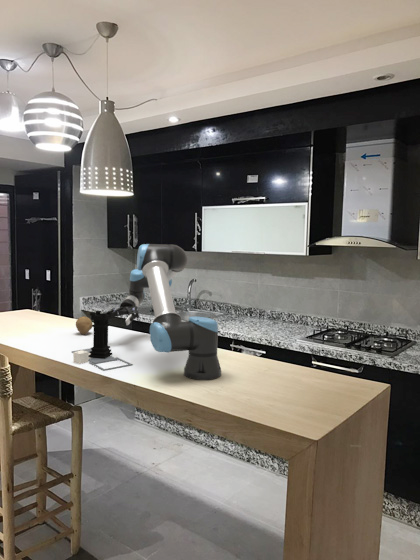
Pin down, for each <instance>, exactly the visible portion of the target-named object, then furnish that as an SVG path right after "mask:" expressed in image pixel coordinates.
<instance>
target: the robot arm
mask: <svg viewBox="0 0 420 560" xmlns="http://www.w3.org/2000/svg"><path fill="white" fill-rule="evenodd" d="M136 256H137V258H136V269H132V270H131V272H130V276H129V288H128V289H129V290H128V295H127V296H126V297H125V298H124V300H123V301H122V302H121V303H120V305H119V307H118V308H115V307H113V308H111V309H110V310H109V311H110V312H112V314H111V319H113V318H116V317H120V316H125V315H126V316H127V315H128V316H127V318H126V319H125V324H126V326H129V325H130V324H131V323H132V322H133V321H134V320H135V319H139V318H140V314H139V305H140V304H141V303H143V301H144V299H145V297H146V293H145V291H144V289H149V293H150V300H151V304H152V308H153V312H154V313H153V314H154V319H153V320H152V322H151V324H150V326H149V338H150V342H151V346H152V347H153V349H154V350H155V351H156V352H158V353H172V352H184V351H185V352H186V351H188V357H187V359H186V363H185V366H184V367H183V375H184V377H187V378H188V379H193V380H198V381H201V380H202V381H207V380H214V379H218V378H220V377H221V375H222V368H221V365H220V364H221V363H220V361H219V358H218V343H219V342H218V339H219V338H218V337H219V335H218V334H219V329H218V324H219V323H218V322H217V320H216V319H213V318H210V317H203V316H196V315H195V316H189V318H188V320H184V321H183V320H182V317H181V315H180V314H179V313H177V312H176V308H175V303H174V300H173V296H172V295H173V294H172V291H171V286H172V283H173V278H174V277H175V276H176V275H177V274H178V273H180V272H182V271H183V270H184V269H185V268H186V267H187V265H188V261H189V259H188V258H189V257H188V255H187V252H186V251H185V249H183V248H182V247H180V246H178V245H177V244H162V243H161V244H158V243H157V244H156V243H146V244H145V243H143V244H141V245H140V246H139V247H138V250H137V255H136ZM107 312H108V311H106V312H105V313H107Z"/></svg>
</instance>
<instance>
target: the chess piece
mask: <svg viewBox="0 0 420 560" xmlns="http://www.w3.org/2000/svg"><path fill="white" fill-rule="evenodd" d="M106 312H107V313H106ZM106 312H102V313H101V310H96V311H95V312H90V313H89V316H90V320H91V321H93V325H92V328H93V337H92V339H93V344H92V345H93V347H90V348H91V350H92V351H90V353H91V354H90V355H88V357H94V358H107V357H109V356H112V355H113V352H112V349H110V348H111V346H110V345H109V327H110V323H109V320H112V318H111V314H112V312H110V310H108V311H106Z"/></svg>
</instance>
